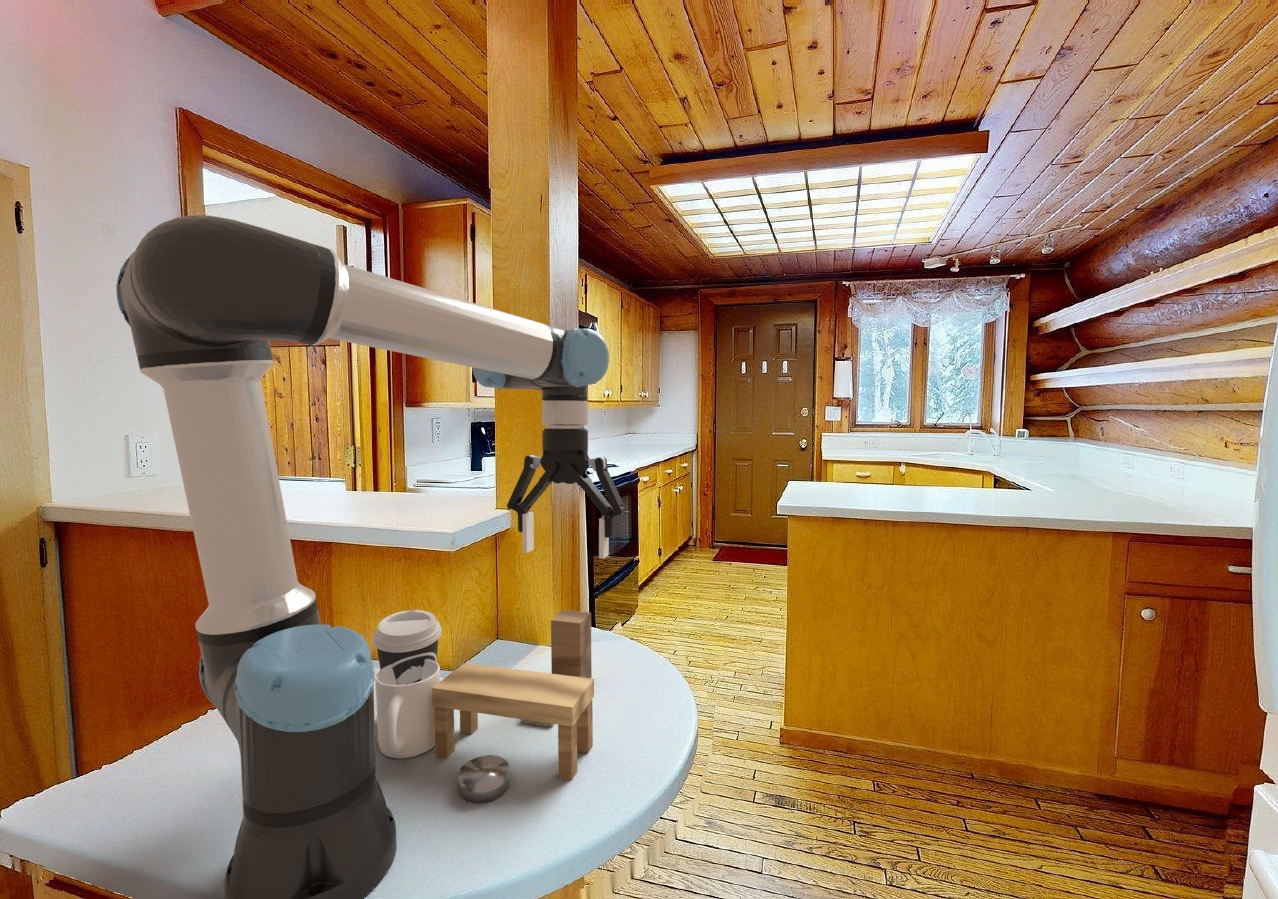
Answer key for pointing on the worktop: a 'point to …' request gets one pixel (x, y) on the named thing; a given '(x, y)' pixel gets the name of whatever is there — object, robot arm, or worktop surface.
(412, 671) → the coffee cup
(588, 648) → the brown l-shaped block
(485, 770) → the token
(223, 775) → the worktop surface
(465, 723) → the riser
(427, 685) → the mug
